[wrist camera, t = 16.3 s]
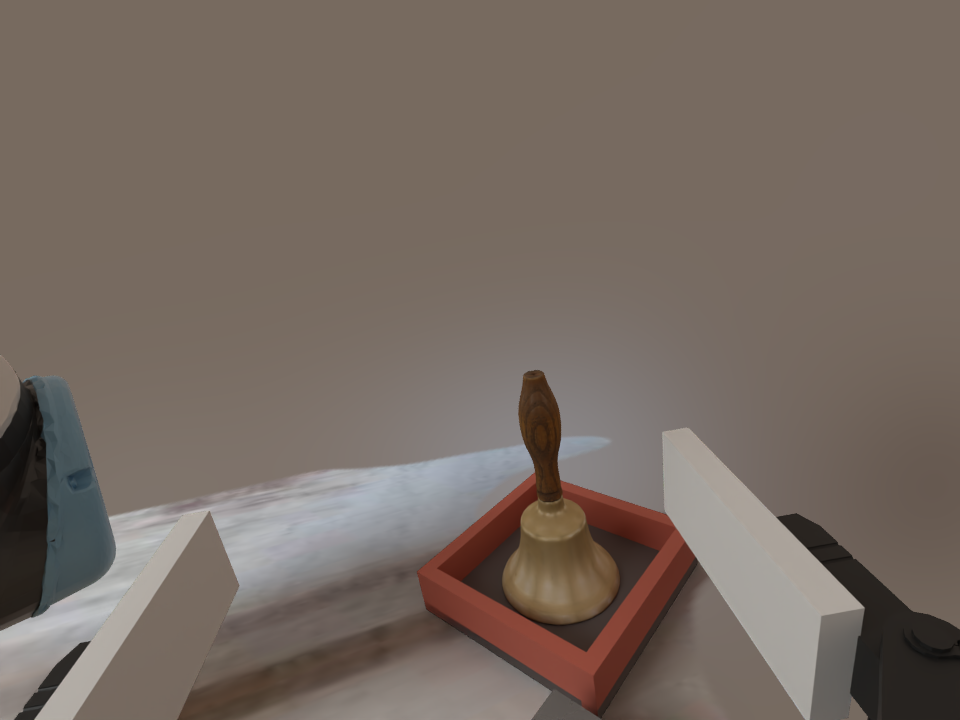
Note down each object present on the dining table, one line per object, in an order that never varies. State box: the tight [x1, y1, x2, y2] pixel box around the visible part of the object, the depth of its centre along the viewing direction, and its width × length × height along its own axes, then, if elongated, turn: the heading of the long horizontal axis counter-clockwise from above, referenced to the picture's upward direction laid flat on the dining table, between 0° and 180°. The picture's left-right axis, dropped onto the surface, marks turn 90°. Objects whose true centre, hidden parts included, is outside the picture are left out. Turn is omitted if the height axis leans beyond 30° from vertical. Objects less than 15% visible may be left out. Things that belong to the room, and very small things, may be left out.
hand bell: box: [502, 370, 620, 625], centre depth 35 cm, size 8×8×16 cm
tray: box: [417, 473, 698, 718], centre depth 37 cm, size 14×14×3 cm
